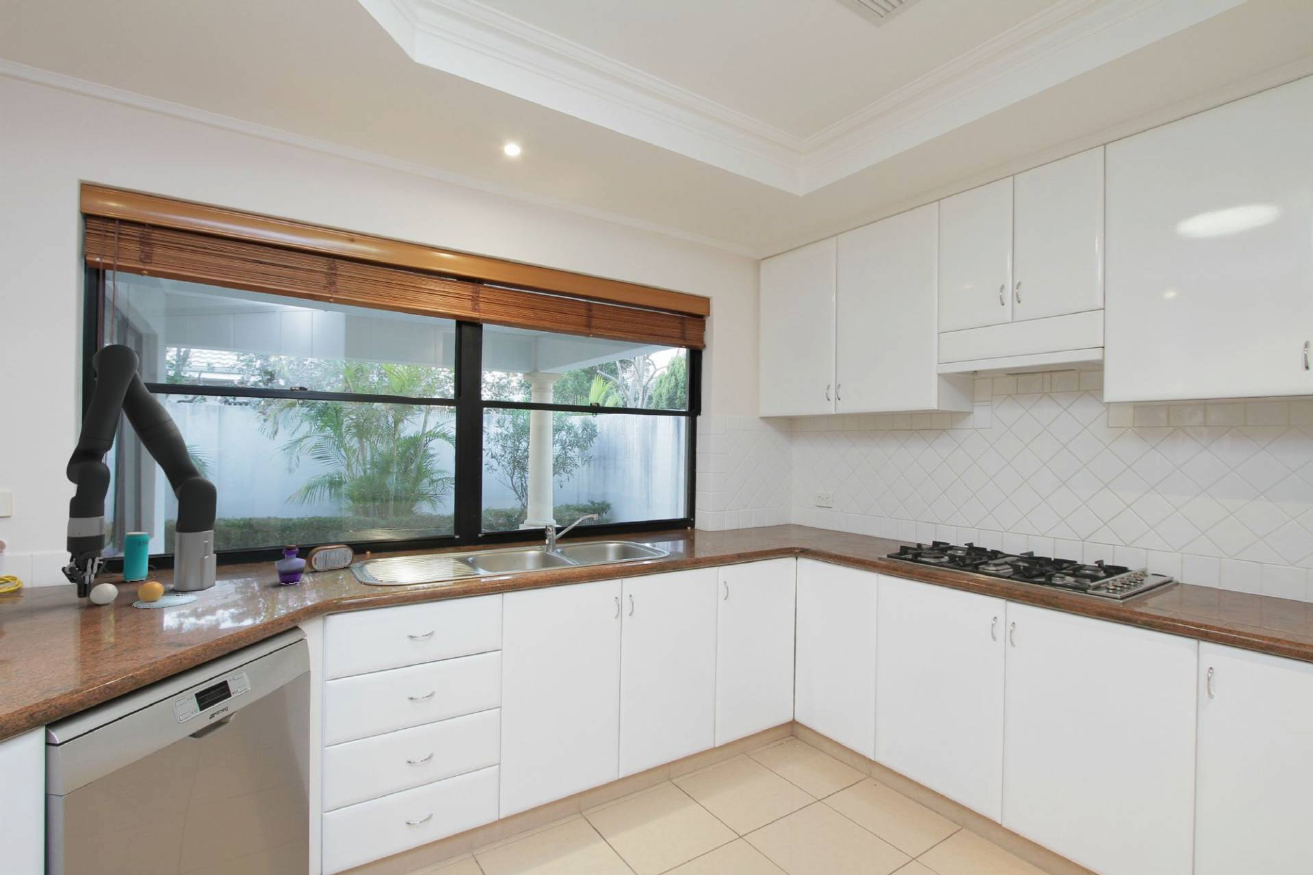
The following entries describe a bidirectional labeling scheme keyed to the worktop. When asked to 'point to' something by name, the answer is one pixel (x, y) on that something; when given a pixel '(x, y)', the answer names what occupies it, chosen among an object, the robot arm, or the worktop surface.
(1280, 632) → the worktop surface
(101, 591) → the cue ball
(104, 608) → the worktop surface
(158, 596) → the orange ball
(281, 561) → the potion bottle
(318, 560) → the tin
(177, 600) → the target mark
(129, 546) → the beverage can
